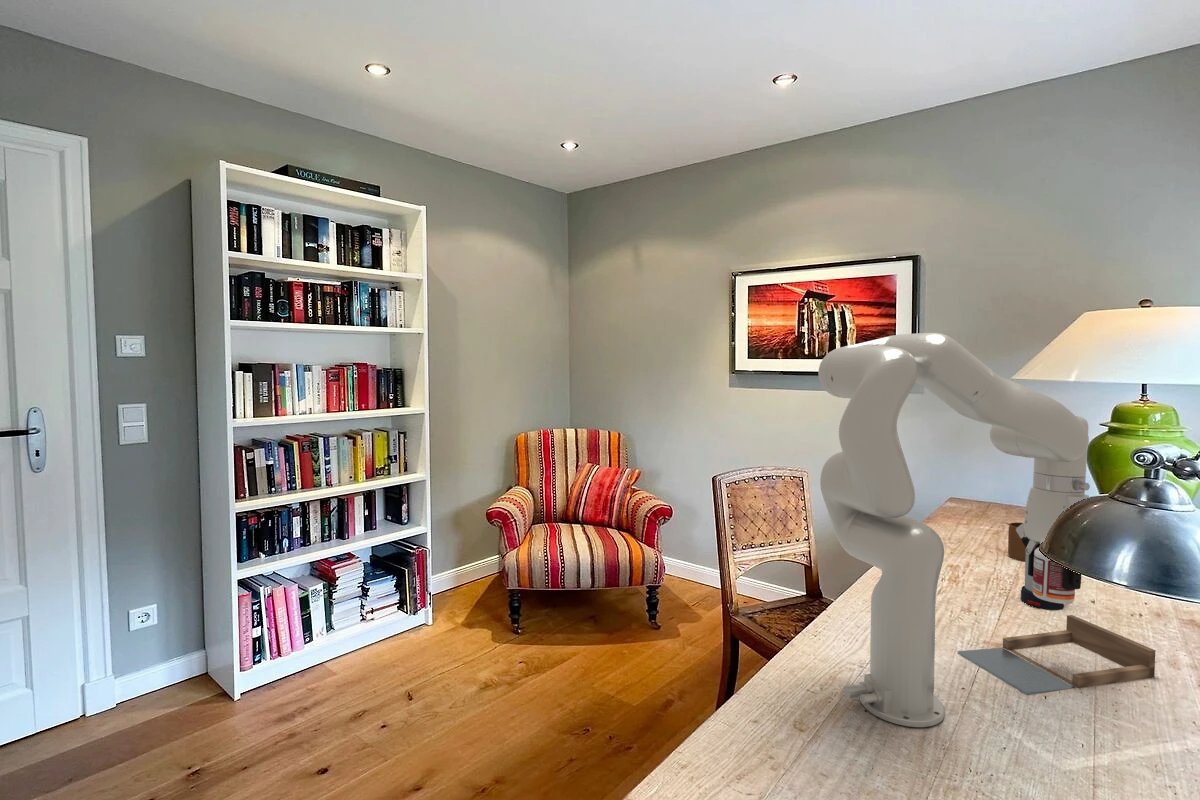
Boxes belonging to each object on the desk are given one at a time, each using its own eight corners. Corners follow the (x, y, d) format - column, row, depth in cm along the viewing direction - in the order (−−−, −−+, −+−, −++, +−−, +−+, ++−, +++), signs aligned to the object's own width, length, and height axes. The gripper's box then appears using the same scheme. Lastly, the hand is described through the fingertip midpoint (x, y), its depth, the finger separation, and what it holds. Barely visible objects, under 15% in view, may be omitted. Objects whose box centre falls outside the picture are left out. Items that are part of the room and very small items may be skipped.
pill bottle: (1080, 600, 111) (1083, 540, 110) (1065, 607, 107) (1069, 545, 107) (1040, 589, 116) (1044, 531, 115) (1025, 596, 113) (1028, 536, 112)
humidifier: (1025, 607, 141) (1029, 499, 139) (1016, 594, 149) (1019, 492, 147) (1069, 612, 138) (1072, 502, 136) (1057, 598, 146) (1060, 494, 144)
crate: (1078, 694, 105) (1079, 660, 104) (1002, 652, 120) (1003, 622, 119) (1154, 683, 108) (1155, 650, 107) (1070, 644, 123) (1071, 614, 122)
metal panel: (1075, 694, 105) (1026, 699, 103) (1001, 653, 119) (957, 657, 117) (1076, 687, 105) (1026, 692, 103) (1002, 647, 119) (957, 651, 117)
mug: (1059, 559, 173) (1060, 526, 173) (1060, 567, 167) (1061, 533, 166) (1008, 552, 180) (1009, 520, 180) (1007, 559, 174) (1008, 526, 173)
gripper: (1125, 493, 103) (1118, 598, 104) (1033, 474, 120) (1029, 565, 121) (1088, 494, 101) (1082, 601, 102) (1000, 475, 118) (996, 567, 119)
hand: (1053, 581), depth 112 cm, fingers closed on pill bottle, 6 cm apart
